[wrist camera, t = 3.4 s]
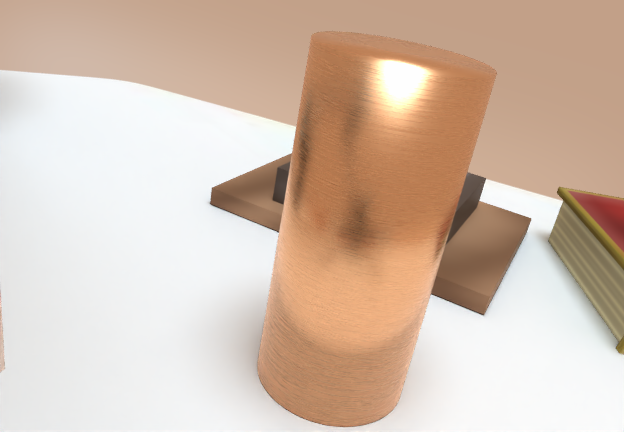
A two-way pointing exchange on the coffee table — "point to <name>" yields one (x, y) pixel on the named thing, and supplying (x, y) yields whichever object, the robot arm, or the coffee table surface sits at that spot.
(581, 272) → the hardcover book
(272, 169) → the duct base
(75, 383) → the coffee table surface
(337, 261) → the brushed copper cylinder
